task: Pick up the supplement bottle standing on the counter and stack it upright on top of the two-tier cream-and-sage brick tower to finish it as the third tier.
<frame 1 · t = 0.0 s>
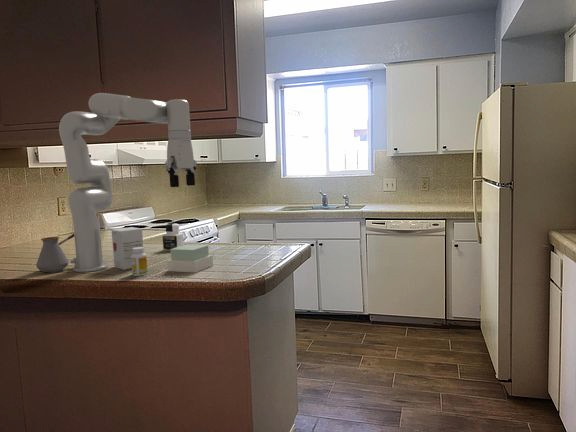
hand: (182, 186, 174), 31 cm above the countertop, tool pointing down, fingers open, 9 cm apart
coffee pot: (65, 268, 198), on the countertop
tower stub: (190, 268, 187), on the countertop
supplement bottle: (140, 275, 180), on the countertop
medicine bottle: (173, 249, 233), on the countertop
supplement box: (129, 267, 196), on the countertop
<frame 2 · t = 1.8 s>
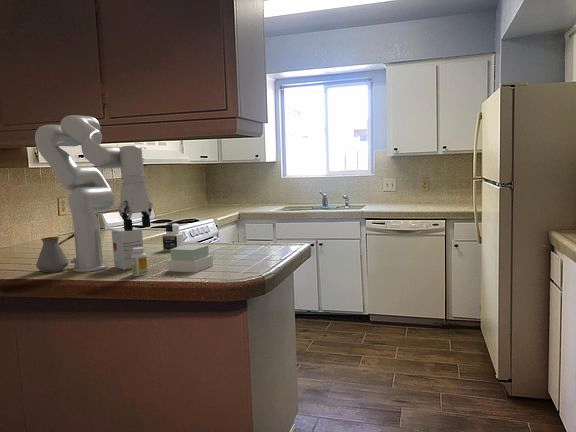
hand: (137, 228, 178), 17 cm above the countertop, tool pointing down, fingers open, 9 cm apart
nothing on the countertop moved.
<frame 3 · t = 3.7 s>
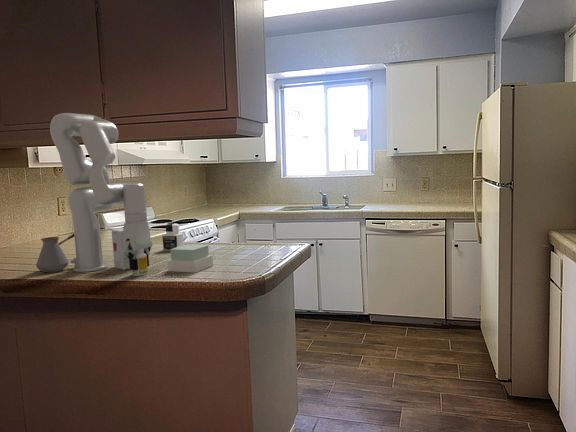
hand: (139, 267, 180), 3 cm above the countertop, tool pointing down, fingers closed on supplement bottle, 5 cm apart
supplement bottle: (140, 274, 180), on the countertop, touching gripper
everything else where it was.
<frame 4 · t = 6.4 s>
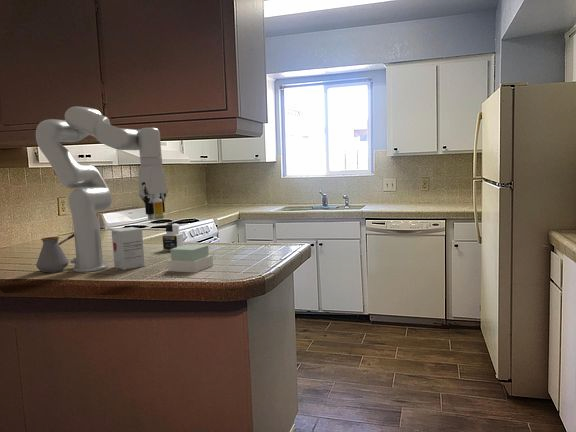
hand: (155, 212, 180), 22 cm above the countertop, tool pointing down, fingers closed on supplement bottle, 5 cm apart
supplement bottle: (156, 220, 180), point 19 cm above the countertop, touching gripper
everything else where it was.
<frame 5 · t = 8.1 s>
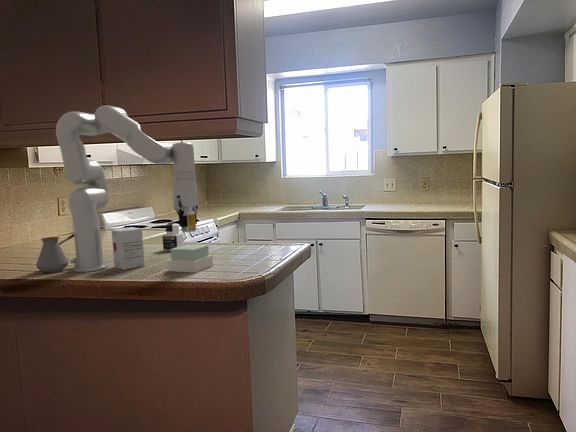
hand: (188, 224, 185), 16 cm above the countertop, tool pointing down, fingers closed on supplement bottle, 5 cm apart
supplement bottle: (188, 232, 186), point 14 cm above the countertop, touching gripper
everything else where it was.
when the fingers open (12 cm above the countertop, at t = 9.3 s): supplement bottle drops 1 cm, resting on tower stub.
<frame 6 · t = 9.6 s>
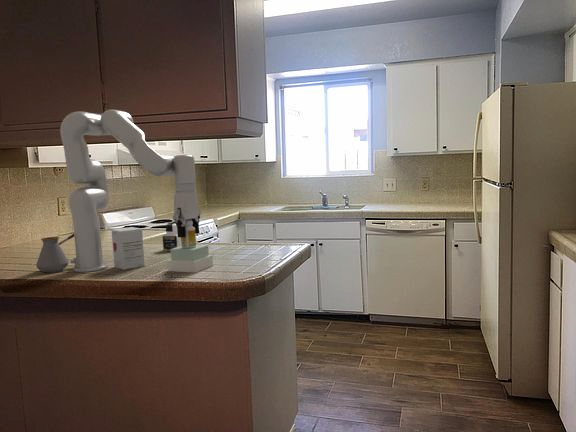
hand: (188, 235, 186), 13 cm above the countertop, tool pointing down, fingers open, 8 cm apart
supplement bottle: (189, 247, 186), point 8 cm above the countertop, touching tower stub
everything else where it was.
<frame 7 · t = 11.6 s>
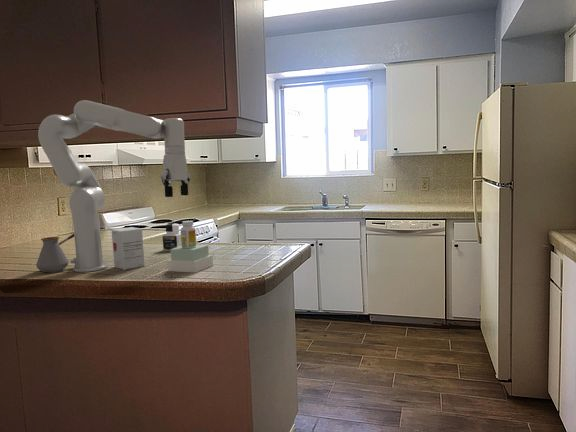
hand: (177, 196, 192), 27 cm above the countertop, tool pointing down, fingers open, 9 cm apart
nothing on the countertop moved.
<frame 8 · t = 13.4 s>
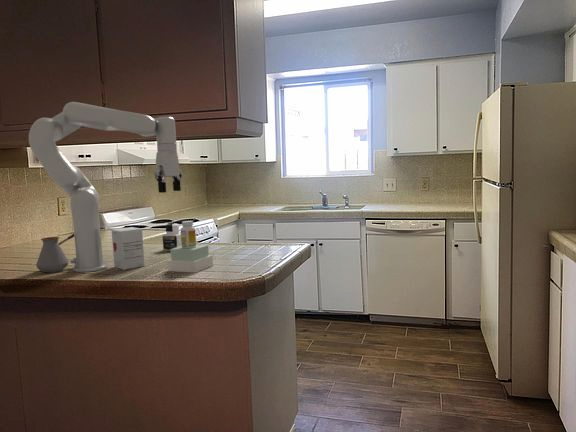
hand: (169, 191, 200), 28 cm above the countertop, tool pointing down, fingers open, 9 cm apart
nothing on the countertop moved.
at the end: supplement bottle 0.2 cm off-centre on the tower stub, point 7.8 cm above the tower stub's base; supplement bottle tilted 0°; the gripper is holding nothing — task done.
